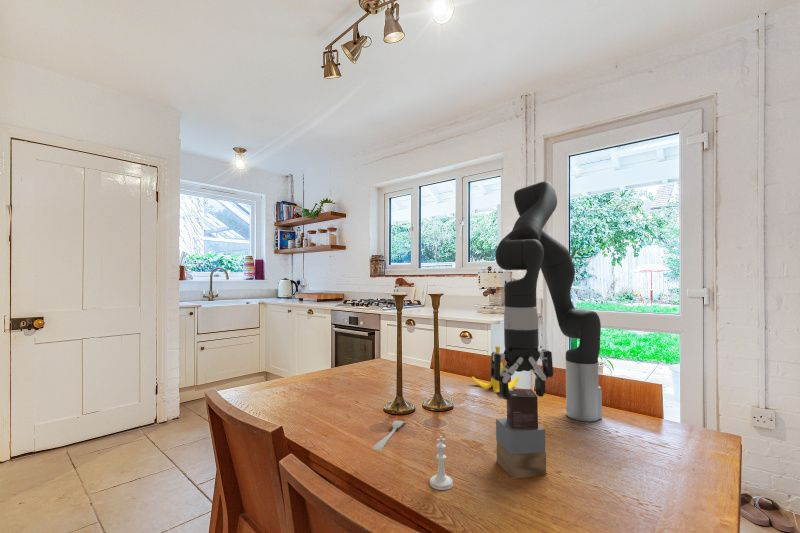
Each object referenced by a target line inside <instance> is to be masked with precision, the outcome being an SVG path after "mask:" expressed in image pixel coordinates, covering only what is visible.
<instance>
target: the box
mask: <svg viewBox="0 0 800 533" xmlns="http://www.w3.org/2000/svg"><path fill="white" fill-rule="evenodd" d="M508 392H509V399H506V418H507V420H508V422H509V424H510V427H511V428H514V429H538V425H539V415H538V414H539V408H538V407H539V406H538V397H539V396H538V395H536V392H534V390H533V389H532V388H511V389H508Z"/></svg>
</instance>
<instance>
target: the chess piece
mask: <svg viewBox="0 0 800 533" xmlns="http://www.w3.org/2000/svg"><path fill="white" fill-rule="evenodd" d="M436 442H437V444H436V445H435V446H436V451H437V454H436V455H435V458H436V460H438V466H437V473H436V474H435V475H433V476H431V477H430V479H429V485H430V487H431V488H433V489H435V490H439V491H446V490H450V489H451V488H452V487H453V486H454V483H453V479H452V478H451V476H448V475H447V474H446V472H445V471H446V470H445V464H444V463H445V462H444V461H445V460H446V459H447V456H446V455H445V454H444V453H445V451H446V447H447V446H446V443H445V444H444V443H443V442H446V439H445V438H443V435H440V436H439V438H437V439H436Z"/></svg>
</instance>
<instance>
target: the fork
mask: <svg viewBox="0 0 800 533" xmlns="http://www.w3.org/2000/svg"><path fill="white" fill-rule="evenodd" d="M404 423H406V424H407V423H408V422H407V421H402V420H394V421H393V422H392V424H391V426H392V430H391V431H390V432H389V433H388V434H387V435H386V436H384V438H383V437H382V439H380V440H379V441H378V442H377V443H375V444H374V445H373V446H372V450H375V451H376V450H377V451H382V449H383V448H384V446H385V444H386V443H387V442H388V440H389V439H390V438H391V437H392V436H393V435H394V434H395V432H396V431H397V429H398V428H400V427H401V426H402V425H403V424H404Z"/></svg>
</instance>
